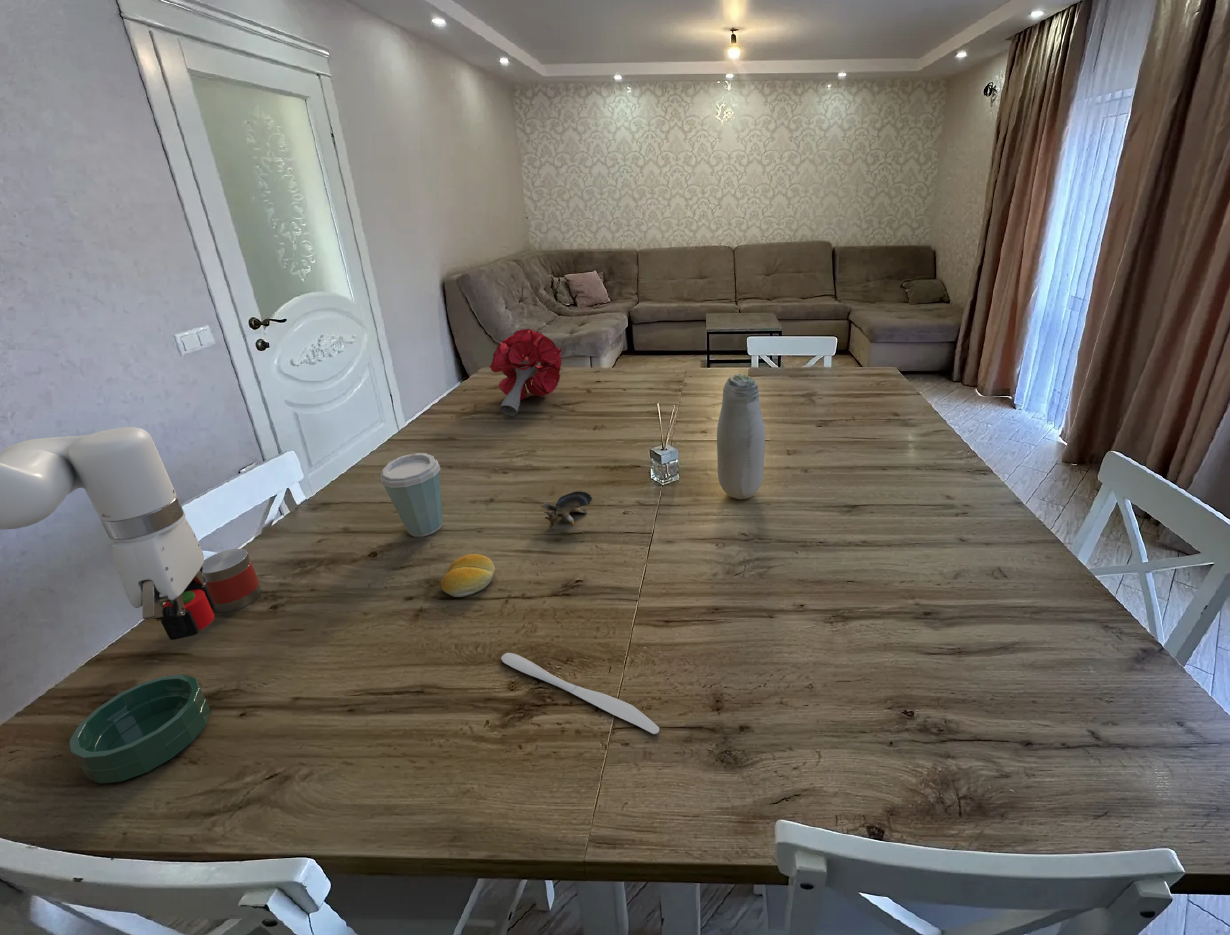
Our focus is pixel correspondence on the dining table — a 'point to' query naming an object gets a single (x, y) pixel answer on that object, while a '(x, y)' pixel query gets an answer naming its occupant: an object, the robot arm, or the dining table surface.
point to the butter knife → (584, 693)
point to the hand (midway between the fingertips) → (193, 622)
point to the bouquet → (526, 367)
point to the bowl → (140, 728)
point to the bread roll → (468, 575)
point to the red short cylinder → (196, 607)
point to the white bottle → (740, 438)
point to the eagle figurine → (567, 506)
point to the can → (231, 580)
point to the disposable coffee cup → (415, 492)
